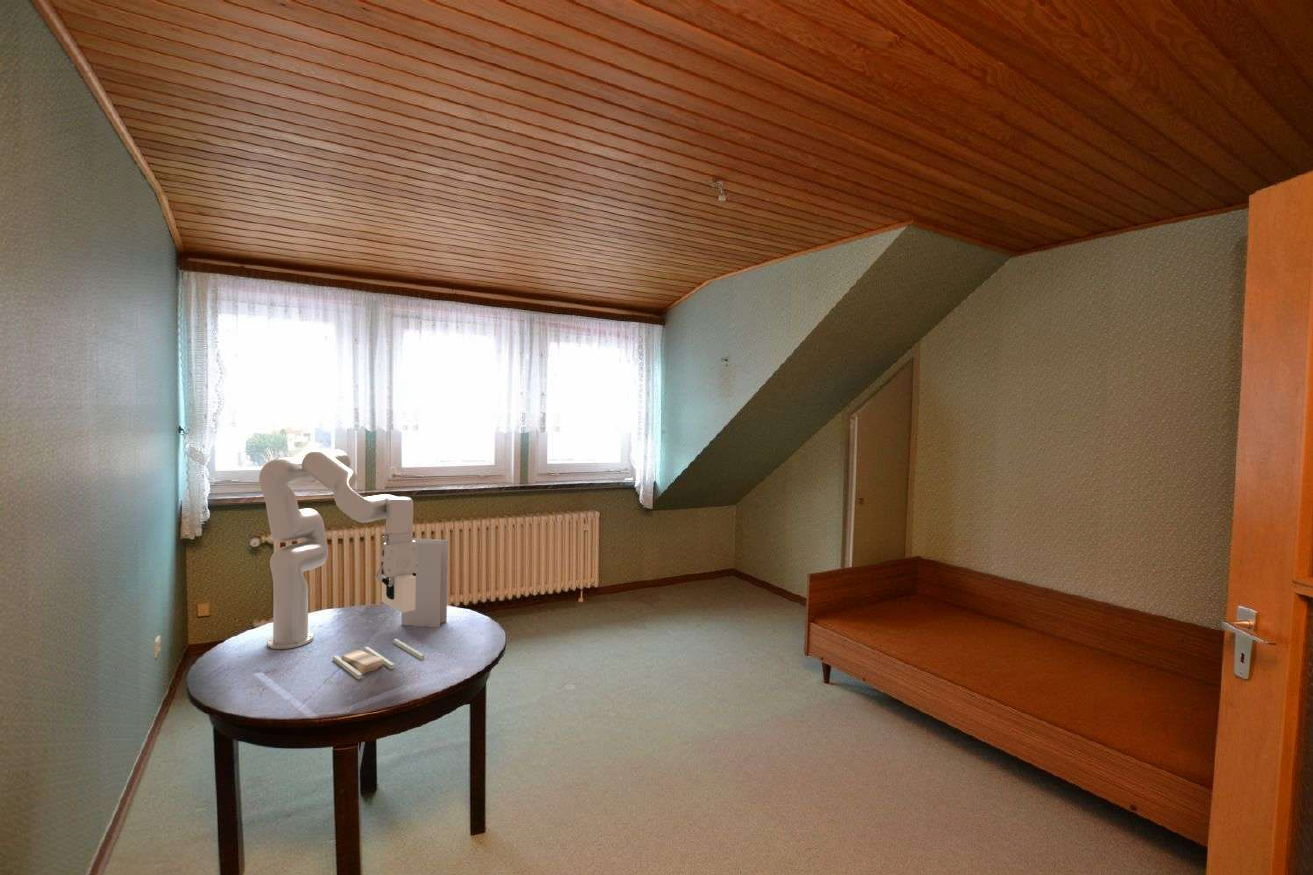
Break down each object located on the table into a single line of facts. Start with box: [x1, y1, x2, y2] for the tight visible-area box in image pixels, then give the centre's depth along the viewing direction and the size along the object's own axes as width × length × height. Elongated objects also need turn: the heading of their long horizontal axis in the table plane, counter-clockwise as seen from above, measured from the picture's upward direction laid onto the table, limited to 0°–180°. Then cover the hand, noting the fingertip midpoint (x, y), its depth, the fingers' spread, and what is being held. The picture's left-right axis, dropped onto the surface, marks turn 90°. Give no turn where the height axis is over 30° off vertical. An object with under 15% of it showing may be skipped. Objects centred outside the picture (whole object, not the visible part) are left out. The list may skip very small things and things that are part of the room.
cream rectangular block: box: [381, 574, 416, 614], centre depth 174 cm, size 14×4×10 cm, turn 49°
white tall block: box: [400, 537, 449, 628], centre depth 204 cm, size 14×6×30 cm, turn 84°
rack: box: [332, 638, 425, 680], centre depth 170 cm, size 18×19×2 cm
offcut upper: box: [341, 649, 384, 673], centre depth 167 cm, size 12×5×2 cm, turn 60°
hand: (398, 596), depth 174 cm, fingers closed on cream rectangular block, 4 cm apart
